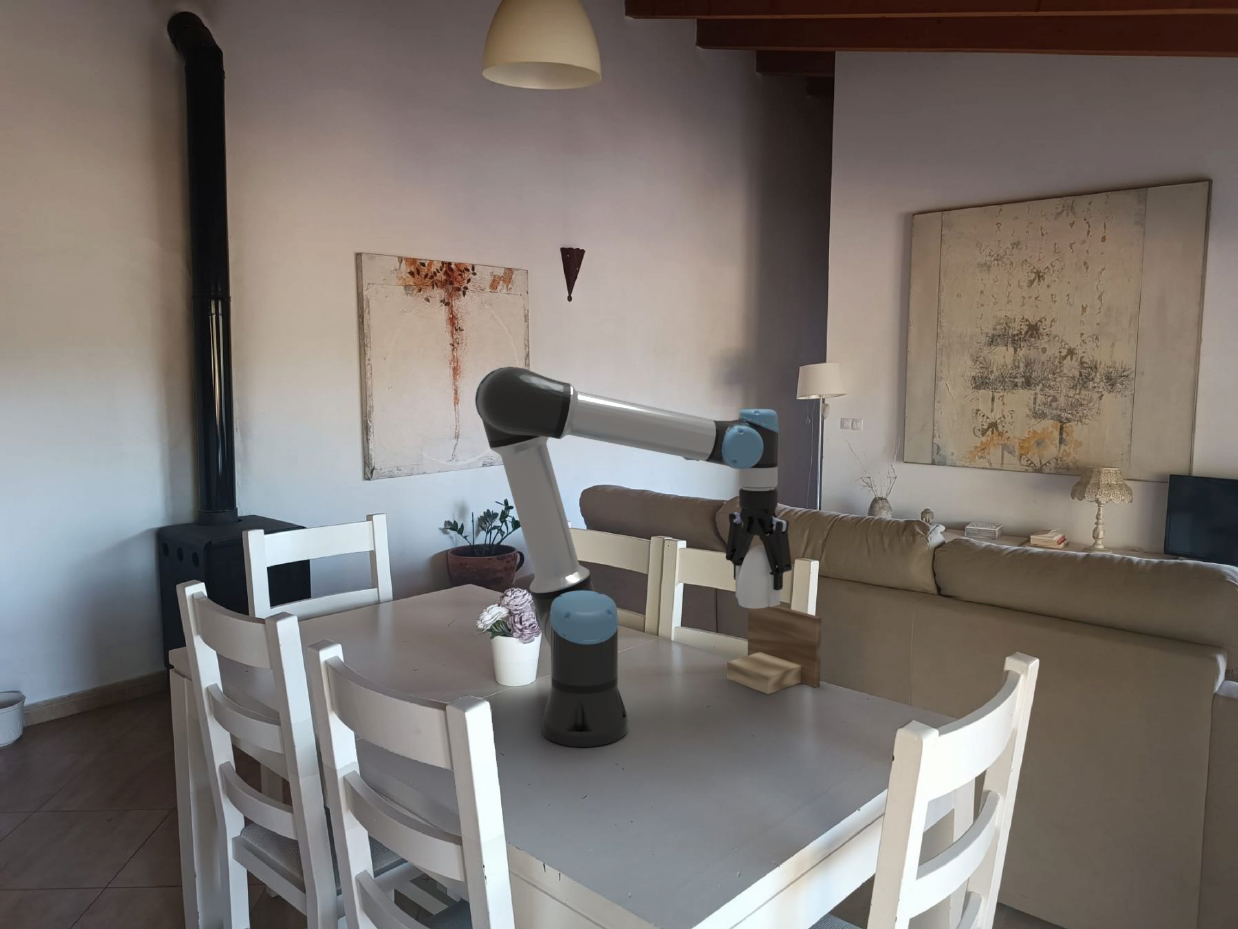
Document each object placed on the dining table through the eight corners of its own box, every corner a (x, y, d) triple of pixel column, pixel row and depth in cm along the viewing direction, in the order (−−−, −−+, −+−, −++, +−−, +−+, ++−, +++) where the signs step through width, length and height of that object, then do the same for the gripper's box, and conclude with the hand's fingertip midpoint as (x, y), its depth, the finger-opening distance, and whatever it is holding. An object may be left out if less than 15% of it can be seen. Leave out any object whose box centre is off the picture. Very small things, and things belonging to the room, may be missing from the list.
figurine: (778, 609, 168) (779, 549, 167) (739, 609, 168) (739, 549, 167) (772, 599, 175) (773, 541, 174) (735, 599, 175) (735, 541, 174)
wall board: (782, 699, 165) (783, 628, 163) (714, 674, 179) (715, 608, 177) (819, 685, 172) (821, 617, 170) (752, 662, 186) (753, 598, 184)
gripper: (812, 491, 163) (811, 608, 166) (732, 481, 179) (732, 587, 182) (786, 495, 158) (785, 615, 161) (707, 484, 174) (707, 594, 177)
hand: (757, 600), depth 171 cm, fingers closed on figurine, 8 cm apart
